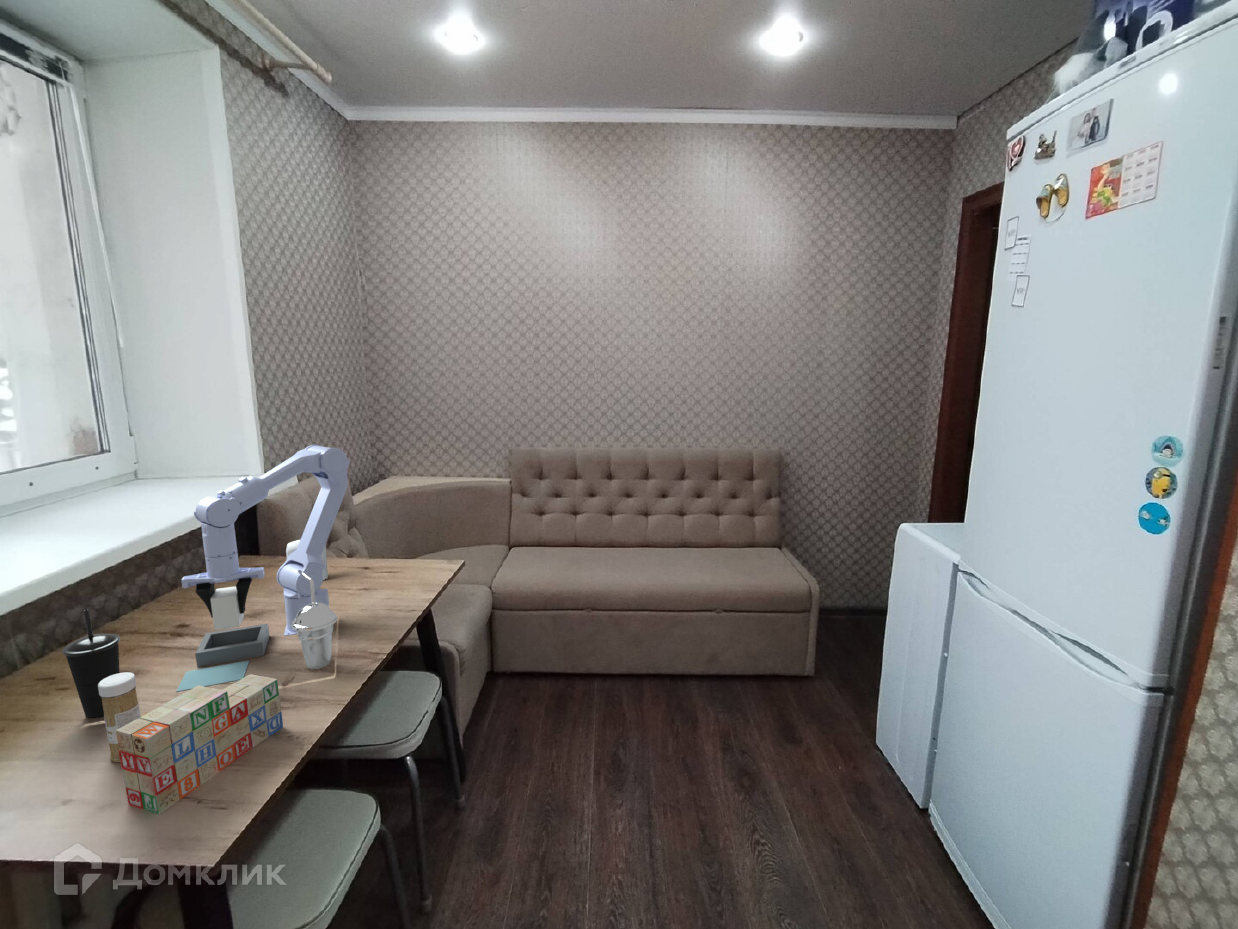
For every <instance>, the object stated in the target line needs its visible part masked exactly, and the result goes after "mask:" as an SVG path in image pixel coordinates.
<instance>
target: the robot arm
mask: <svg viewBox="0 0 1238 929" xmlns="http://www.w3.org/2000/svg"><path fill="white" fill-rule="evenodd" d="M350 464H351V462H350V460H349V459H348V457H347V454H346V453H345V452H344V451H343V450H342V449H341V448H339V447H328V446H322V445H318V444H311V445H308V446H306V447H305V448H303V449H301V450H298V451H297V452H295V454H294V455H292V456H291V457H289V458H288V459H286V460H284V461H283V462H281V463H279V464H277V465H276V466H274V467H273V468H272V469H270V470H268V471H267V472H266V473H264V474H262V475H261V476H259V477H257V476H247V477H245V476H242V477H241V478H239V479H238V483H235V484H233V485H232V486H229V487H228V488H226V489H225V490H223V489H222V490H221V489H220V490H219V491H217V492H216V494H217V495H216V496H207V497H204V498H203V499H201V500H200V501H199V502H198V504H197V505H196V508H195V511H193V516H194V518H195V519H196V520H197V521H199V523H200V525H201V533H202V534H201V535H202V536H201V537H202V544H203V551H204V552H203V553H204V558H205V566H206V568H205V569H206V572H201V573H197V574H192V575H185V576H183V577H182V578H181V579H180V580H181V586H182V589H188V588H189V587H195V586H196V587H195V593H196V595H197V596H198V597H199V598H200V599H201V600H202V602H203V603H204V605H205V606H206V607H207V610H208V611H209V614H210V616H211V618H212V619H213V615H212V607H211V597H212V596H213V594H214V592H215V591H216V589H215V584H219V583H220V584H221V583H227V582H236V581H237V582H236V584H235V586H236V589H237V593H238V598H239V611H240V614H242V613H244V614H245V611H246V604H247V602H246V601H247V596H248V593H249V590H250V586H251V585H252V582H253V579H258V580H259V579H261V580H262V579H264V578H265V567H264V566H263V567H261V566H260V567H240V564H239V554H238V547H237V537H236V530H235V522H236V521H237V519H238V518H239V515H241V514H242V513H243V512H245V511H247V510H249V509H250V508H252V507H254V506H255V505H257V504H259V503H260V502H262V501H264V500H265V499H267V498H268V495H269V491H270V490H271V489H273V488H275V487H277V486H279V485H281V484H284V483H285V482H286V481H289V480H290V479H292V478H294V477H297V476H298V475H300V474H302V473H308V474H309V473H310V474H312V475H313V476H314V477H315V478H316V480H317V482H318V483H319V486H320V489H319V492H318V496H317V497H316V500H315V502H314V505H313V508H312V510H311V512H310V515H309V517H308V520H307V522H306V525H305V528H304V530H303V532H302V535H301V537H300V539H299V540H300V543H299V545H298V548H297V550H295V551H294V552H293V553H291V554H290V555H289V556H288V557H287V556H286V560H285V562H284V563H283V564H282V565H280V567H279V568H278V570H277V573H276V582H277V584H278V585H279V586H281V587H282V588H283V590H282V591H283V599H284V601H283V602H284V610H285V619H286V626H285V629H284V633H283V636H285V637H286V636H293V635H297V631H295V630H293V629H292V622H293V620H294V619H295V618H296V616H297V614H298V612H299V610H300V609H301V608H302V607H304V606H305V605H307V604H309V603H312V600H311V589H310V582H309V581H308V580H307V579H306V578H304V577H303V576H302V575H301V574H299V573H298V570H301V571H303V572H304V573H305V574H307V575H308V576H309V577H310V578H312V580H313V582H314V591H315V601H316V602H320V603H324V604H326V605H327V606H329V607H330V599H329V591H328V588H321V586H322V585H323V581H324V580H323V576H322V574H323V569H324V567H325V566H324V563H323V560H322V558H321V554H322V552H323V549H324V547H325V546H326V544H327V542H328V539H329V536H330V534H331V531H332V529H333V526H334V523H335V520H336V518H337V516H338V513H339V510H340V507H341V505H342V502H343V499H344V496H345V495H346V492H347V490H348V485H349V483H348V482H349V481H348V468H349V466H350Z"/></svg>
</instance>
